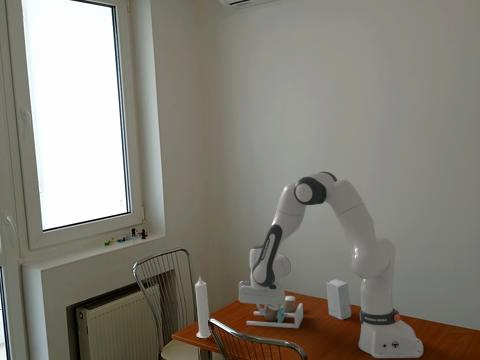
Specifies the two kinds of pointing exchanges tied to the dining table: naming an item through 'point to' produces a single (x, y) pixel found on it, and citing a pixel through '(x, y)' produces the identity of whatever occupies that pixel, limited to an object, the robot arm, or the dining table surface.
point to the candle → (202, 309)
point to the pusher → (281, 314)
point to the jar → (289, 304)
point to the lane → (297, 316)
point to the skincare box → (338, 299)
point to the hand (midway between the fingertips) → (262, 313)
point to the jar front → (271, 312)
